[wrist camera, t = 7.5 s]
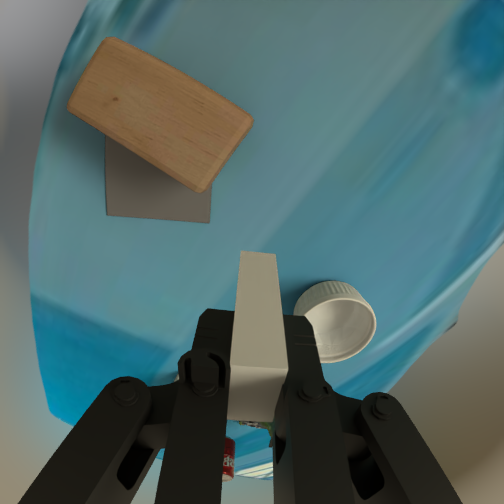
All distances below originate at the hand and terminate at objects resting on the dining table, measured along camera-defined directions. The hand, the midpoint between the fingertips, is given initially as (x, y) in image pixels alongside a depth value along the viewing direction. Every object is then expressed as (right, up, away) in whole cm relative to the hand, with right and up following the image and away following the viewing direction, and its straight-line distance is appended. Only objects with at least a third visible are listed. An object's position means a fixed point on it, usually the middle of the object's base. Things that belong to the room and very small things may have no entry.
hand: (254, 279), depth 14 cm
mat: (-13, +13, +25) cm, 32 cm away
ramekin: (+12, -8, +36) cm, 39 cm away
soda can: (-8, -50, +56) cm, 75 cm away
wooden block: (-2, +12, +20) cm, 23 cm away
